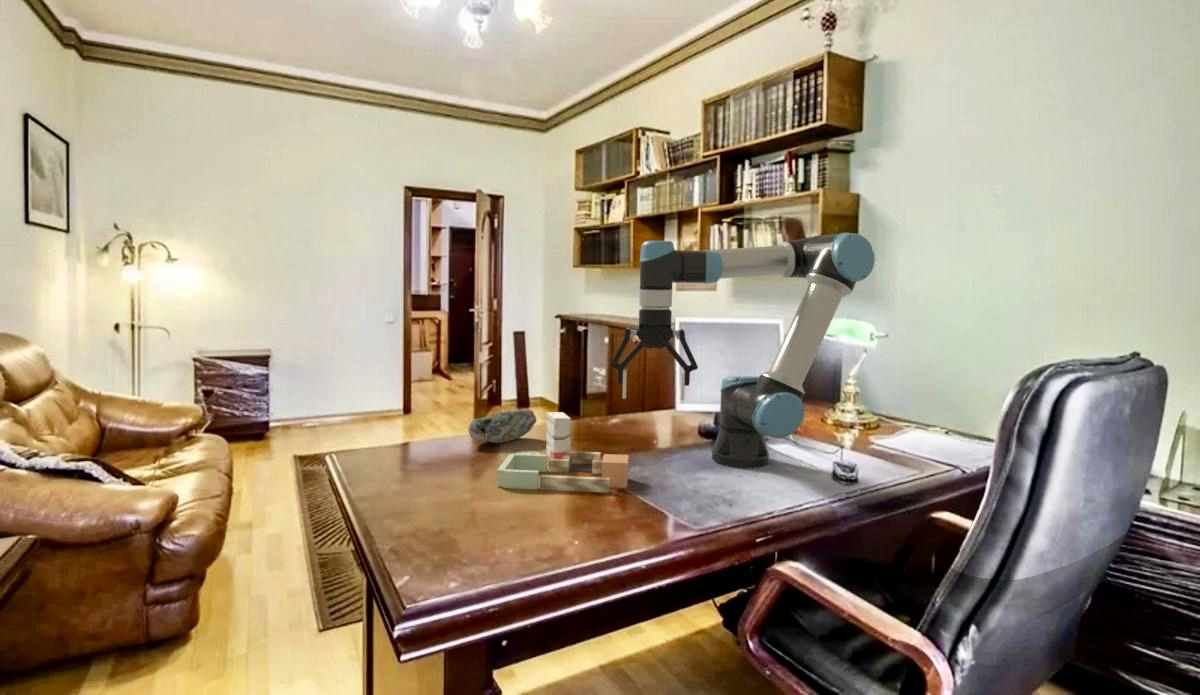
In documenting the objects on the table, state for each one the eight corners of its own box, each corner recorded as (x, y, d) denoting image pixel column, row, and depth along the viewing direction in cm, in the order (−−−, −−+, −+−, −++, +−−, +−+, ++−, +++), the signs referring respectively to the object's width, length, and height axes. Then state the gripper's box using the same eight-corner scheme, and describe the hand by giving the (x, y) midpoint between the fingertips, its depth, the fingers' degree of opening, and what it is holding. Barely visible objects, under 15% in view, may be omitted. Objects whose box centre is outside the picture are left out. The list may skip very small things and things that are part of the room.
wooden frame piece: (613, 464, 170) (614, 452, 170) (609, 492, 148) (609, 479, 148) (553, 461, 171) (553, 450, 171) (539, 489, 149) (539, 476, 149)
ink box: (571, 461, 172) (572, 417, 171) (553, 463, 170) (554, 418, 169) (562, 453, 180) (563, 411, 179) (545, 454, 179) (546, 411, 177)
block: (627, 478, 159) (628, 455, 158) (627, 488, 152) (627, 463, 151) (603, 477, 159) (603, 454, 158) (601, 487, 152) (602, 462, 152)
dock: (547, 470, 164) (547, 454, 164) (537, 489, 149) (537, 472, 149) (510, 468, 165) (510, 453, 164) (496, 487, 150) (496, 470, 149)
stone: (461, 442, 189) (461, 408, 188) (529, 434, 200) (529, 402, 198) (473, 451, 180) (473, 416, 178) (543, 443, 190) (544, 409, 189)
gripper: (708, 308, 153) (705, 397, 156) (603, 306, 155) (601, 393, 158) (711, 310, 146) (707, 403, 148) (600, 308, 148) (599, 399, 150)
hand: (653, 398), depth 153 cm, fingers open, 13 cm apart
